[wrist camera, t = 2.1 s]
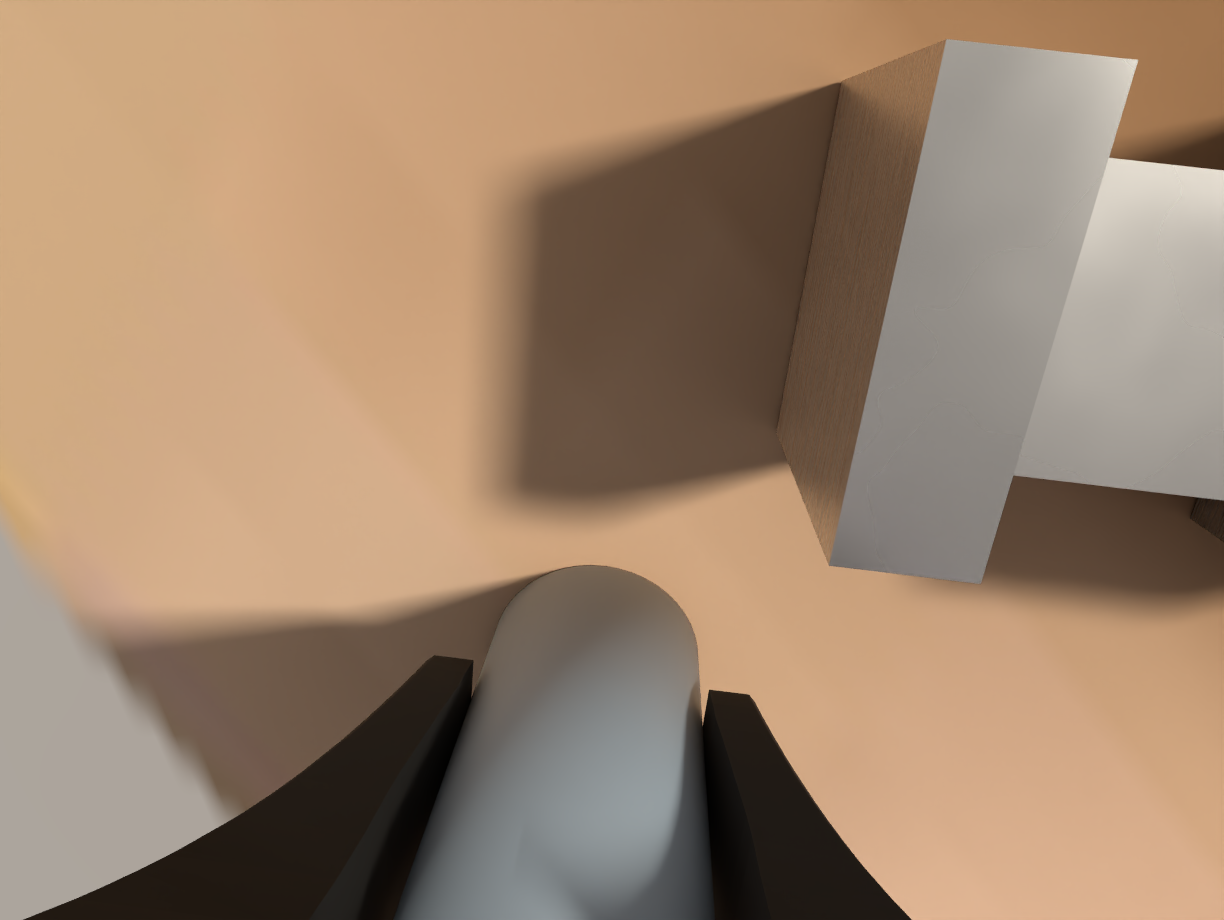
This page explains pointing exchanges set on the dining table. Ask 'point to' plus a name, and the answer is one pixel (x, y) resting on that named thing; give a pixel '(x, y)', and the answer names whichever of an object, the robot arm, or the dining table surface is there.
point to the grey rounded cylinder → (575, 766)
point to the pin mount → (1210, 516)
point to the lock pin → (997, 307)
